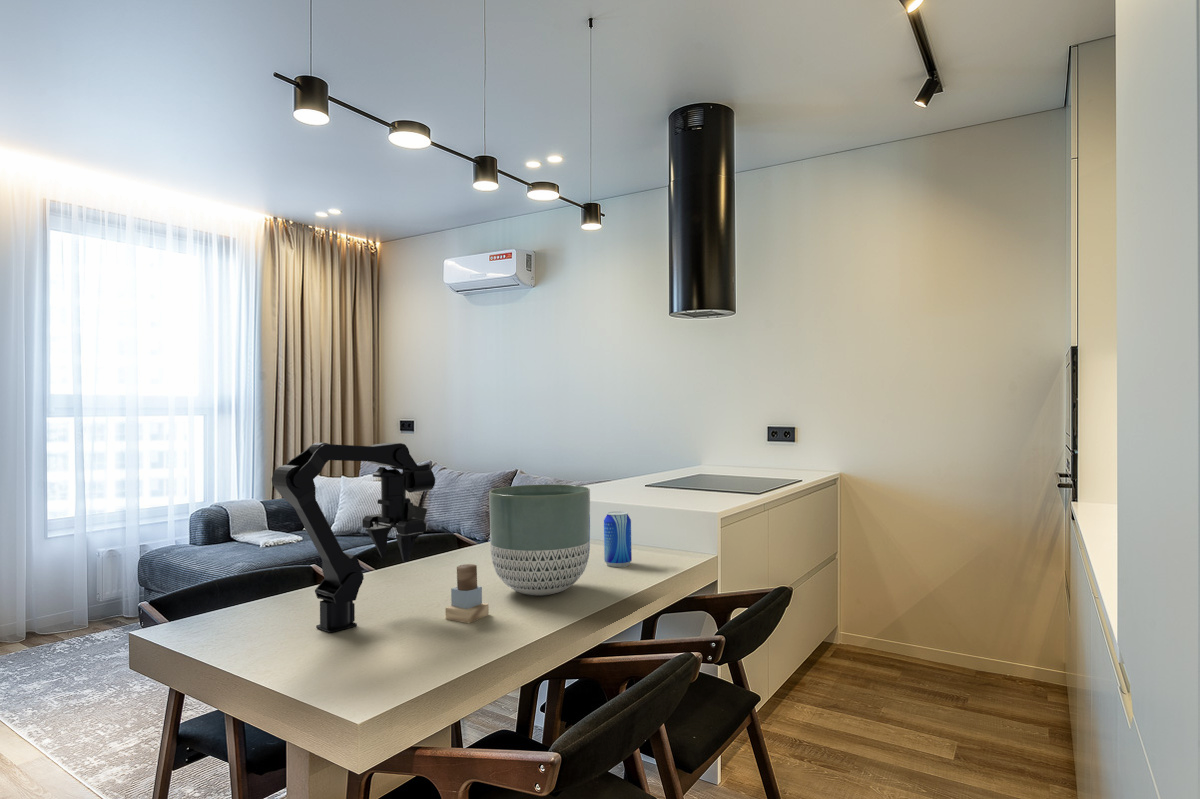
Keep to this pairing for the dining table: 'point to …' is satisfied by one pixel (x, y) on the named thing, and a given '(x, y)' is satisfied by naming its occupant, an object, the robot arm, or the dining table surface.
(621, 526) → the beer can
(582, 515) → the planter
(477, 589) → the top block
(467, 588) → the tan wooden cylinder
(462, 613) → the base block
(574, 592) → the dining table surface
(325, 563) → the robot arm
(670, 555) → the dining table surface
